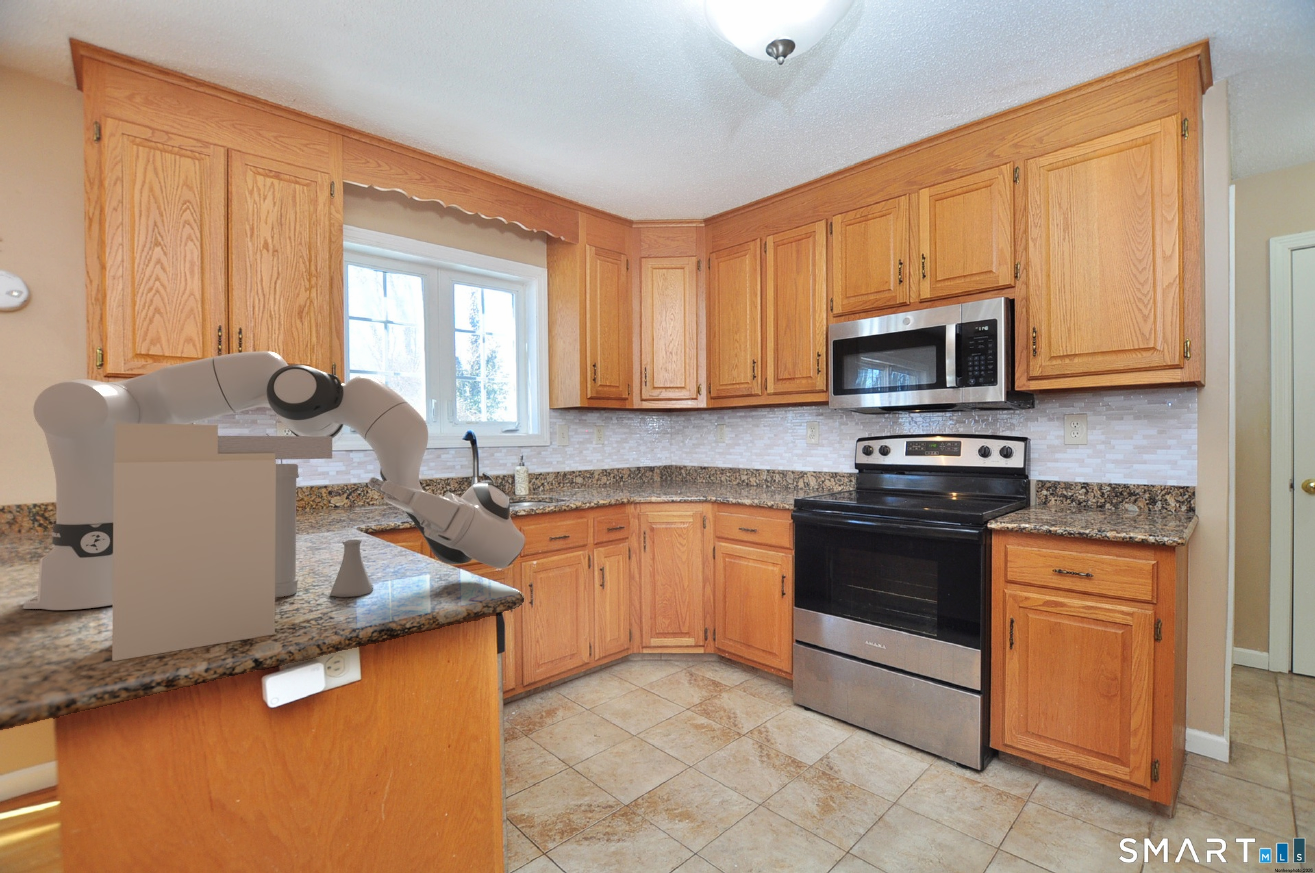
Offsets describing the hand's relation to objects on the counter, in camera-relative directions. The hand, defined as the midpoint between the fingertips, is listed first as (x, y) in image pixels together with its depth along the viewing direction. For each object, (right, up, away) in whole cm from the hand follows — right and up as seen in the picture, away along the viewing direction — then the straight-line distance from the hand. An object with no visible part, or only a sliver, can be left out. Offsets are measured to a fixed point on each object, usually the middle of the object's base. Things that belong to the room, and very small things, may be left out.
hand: (376, 482), depth 103 cm
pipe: (-22, -22, +9) cm, 33 cm away
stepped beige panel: (-19, -22, -15) cm, 32 cm away
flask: (-9, -22, +10) cm, 26 cm away
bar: (-13, +4, -10) cm, 17 cm away
